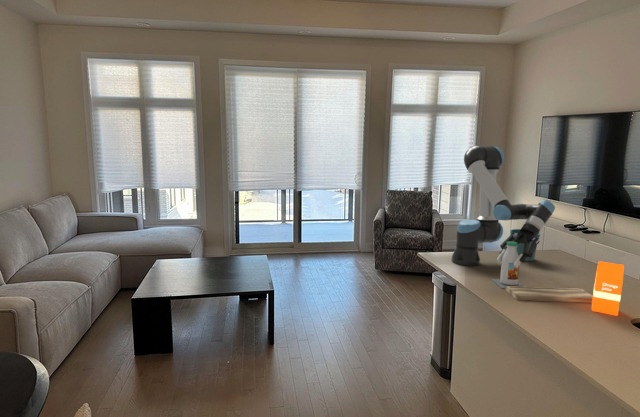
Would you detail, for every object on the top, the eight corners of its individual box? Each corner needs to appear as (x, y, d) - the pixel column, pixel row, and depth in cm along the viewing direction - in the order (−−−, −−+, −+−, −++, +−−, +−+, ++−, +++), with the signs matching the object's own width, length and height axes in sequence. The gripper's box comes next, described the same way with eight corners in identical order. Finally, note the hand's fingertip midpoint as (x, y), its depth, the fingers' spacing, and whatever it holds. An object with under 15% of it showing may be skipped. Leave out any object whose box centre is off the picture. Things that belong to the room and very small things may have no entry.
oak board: (505, 290, 192) (505, 285, 192) (580, 292, 192) (580, 288, 191) (516, 299, 180) (517, 295, 180) (596, 302, 180) (597, 298, 180)
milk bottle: (500, 284, 198) (503, 242, 196) (499, 280, 205) (503, 239, 203) (518, 286, 195) (521, 244, 193) (517, 282, 202) (520, 241, 200)
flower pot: (511, 261, 240) (514, 233, 238) (503, 253, 256) (506, 228, 254) (541, 263, 238) (545, 235, 235) (532, 255, 254) (535, 229, 251)
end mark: (491, 279, 206) (491, 279, 206) (515, 280, 206) (516, 280, 206) (501, 288, 194) (501, 287, 194) (527, 289, 194) (527, 288, 194)
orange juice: (617, 316, 166) (625, 267, 163) (591, 310, 171) (598, 263, 168) (616, 309, 173) (623, 262, 170) (591, 304, 178) (597, 258, 174)
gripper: (556, 237, 194) (530, 275, 189) (515, 228, 213) (490, 262, 208) (550, 226, 191) (524, 265, 186) (509, 218, 209) (484, 253, 204)
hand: (506, 263), depth 197 cm, fingers open, 8 cm apart
